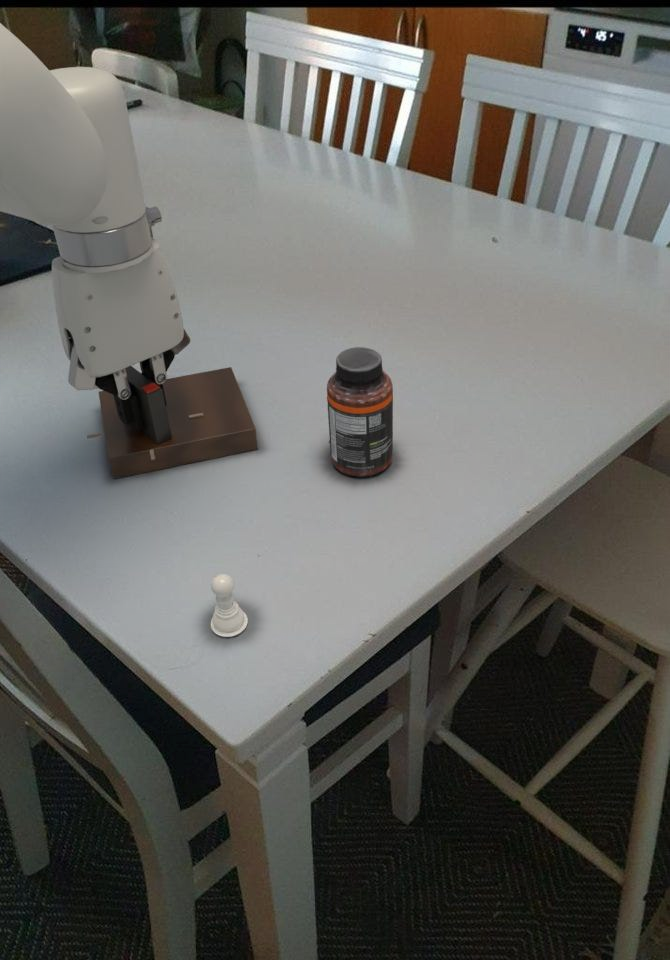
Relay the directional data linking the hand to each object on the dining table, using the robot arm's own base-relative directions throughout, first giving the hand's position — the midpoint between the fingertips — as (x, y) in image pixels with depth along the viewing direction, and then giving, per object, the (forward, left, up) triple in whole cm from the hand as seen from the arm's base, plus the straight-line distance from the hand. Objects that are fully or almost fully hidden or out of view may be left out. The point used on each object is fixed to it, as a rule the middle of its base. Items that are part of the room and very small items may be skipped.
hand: (144, 419), depth 78 cm
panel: (+2, +1, -3) cm, 4 cm away
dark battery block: (0, 0, -1) cm, 1 cm away
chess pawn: (+3, -25, -4) cm, 25 cm away
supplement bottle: (+19, -9, -4) cm, 21 cm away
